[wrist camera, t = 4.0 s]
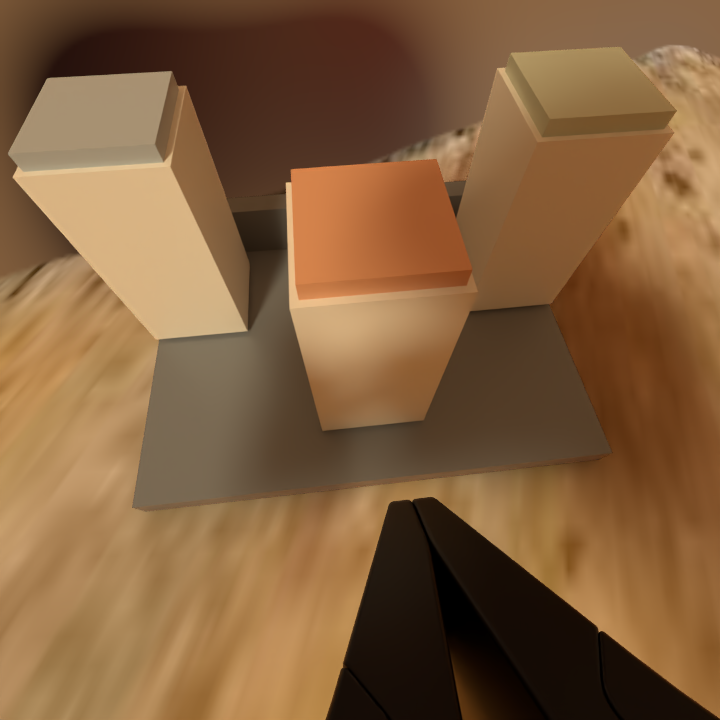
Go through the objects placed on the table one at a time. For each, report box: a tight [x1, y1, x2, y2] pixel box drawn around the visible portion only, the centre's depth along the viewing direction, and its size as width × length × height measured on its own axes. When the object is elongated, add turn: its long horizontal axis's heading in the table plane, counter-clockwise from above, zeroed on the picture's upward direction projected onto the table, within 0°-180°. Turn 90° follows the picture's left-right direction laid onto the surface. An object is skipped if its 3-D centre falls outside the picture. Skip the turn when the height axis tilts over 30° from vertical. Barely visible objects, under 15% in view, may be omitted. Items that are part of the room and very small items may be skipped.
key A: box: [8, 71, 250, 340], centre depth 14 cm, size 4×4×8 cm
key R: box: [286, 159, 478, 431], centre depth 12 cm, size 4×4×8 cm
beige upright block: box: [456, 47, 677, 311], centre depth 15 cm, size 4×4×8 cm
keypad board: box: [132, 181, 612, 511], centre depth 17 cm, size 13×18×4 cm
